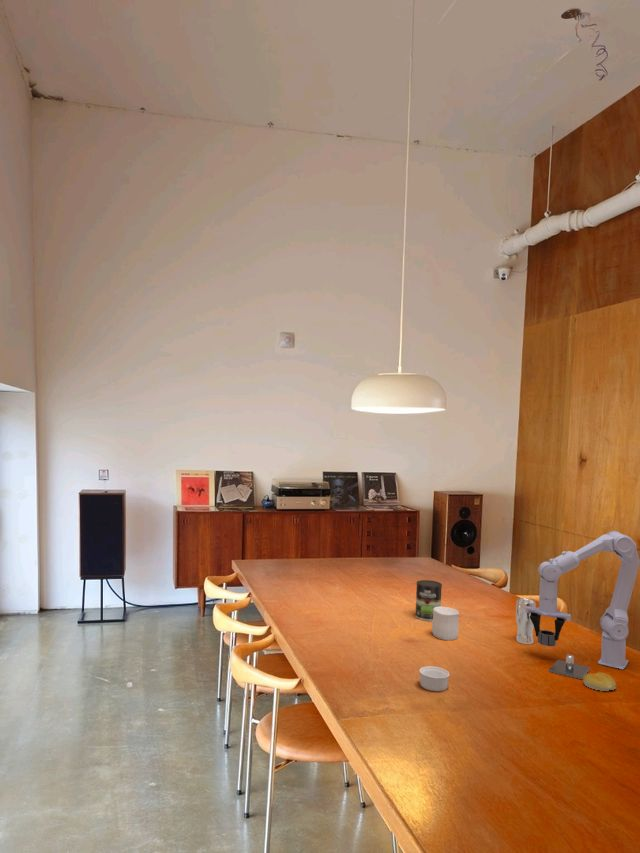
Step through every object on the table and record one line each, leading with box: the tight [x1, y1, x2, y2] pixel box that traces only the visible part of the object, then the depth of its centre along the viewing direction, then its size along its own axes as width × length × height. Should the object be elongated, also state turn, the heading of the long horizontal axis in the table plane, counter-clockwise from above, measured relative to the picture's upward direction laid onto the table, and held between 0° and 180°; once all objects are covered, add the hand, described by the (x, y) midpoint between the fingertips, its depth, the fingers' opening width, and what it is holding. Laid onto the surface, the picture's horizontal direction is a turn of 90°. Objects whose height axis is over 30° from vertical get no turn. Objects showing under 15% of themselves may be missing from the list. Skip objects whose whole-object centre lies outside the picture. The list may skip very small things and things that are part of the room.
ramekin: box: [418, 665, 450, 692], centre depth 179 cm, size 9×9×4 cm
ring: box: [537, 629, 557, 647], centre depth 205 cm, size 6×6×4 cm
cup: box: [431, 605, 460, 641], centre depth 224 cm, size 10×10×10 cm
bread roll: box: [582, 671, 617, 692], centre depth 183 cm, size 8×9×4 cm
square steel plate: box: [548, 654, 591, 680], centre depth 195 cm, size 11×10×5 cm
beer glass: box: [515, 597, 537, 645], centre depth 222 cm, size 7×7×15 cm
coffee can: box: [415, 579, 443, 622], centre depth 246 cm, size 10×10×14 cm
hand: (547, 637), depth 205 cm, fingers closed on ring, 6 cm apart
